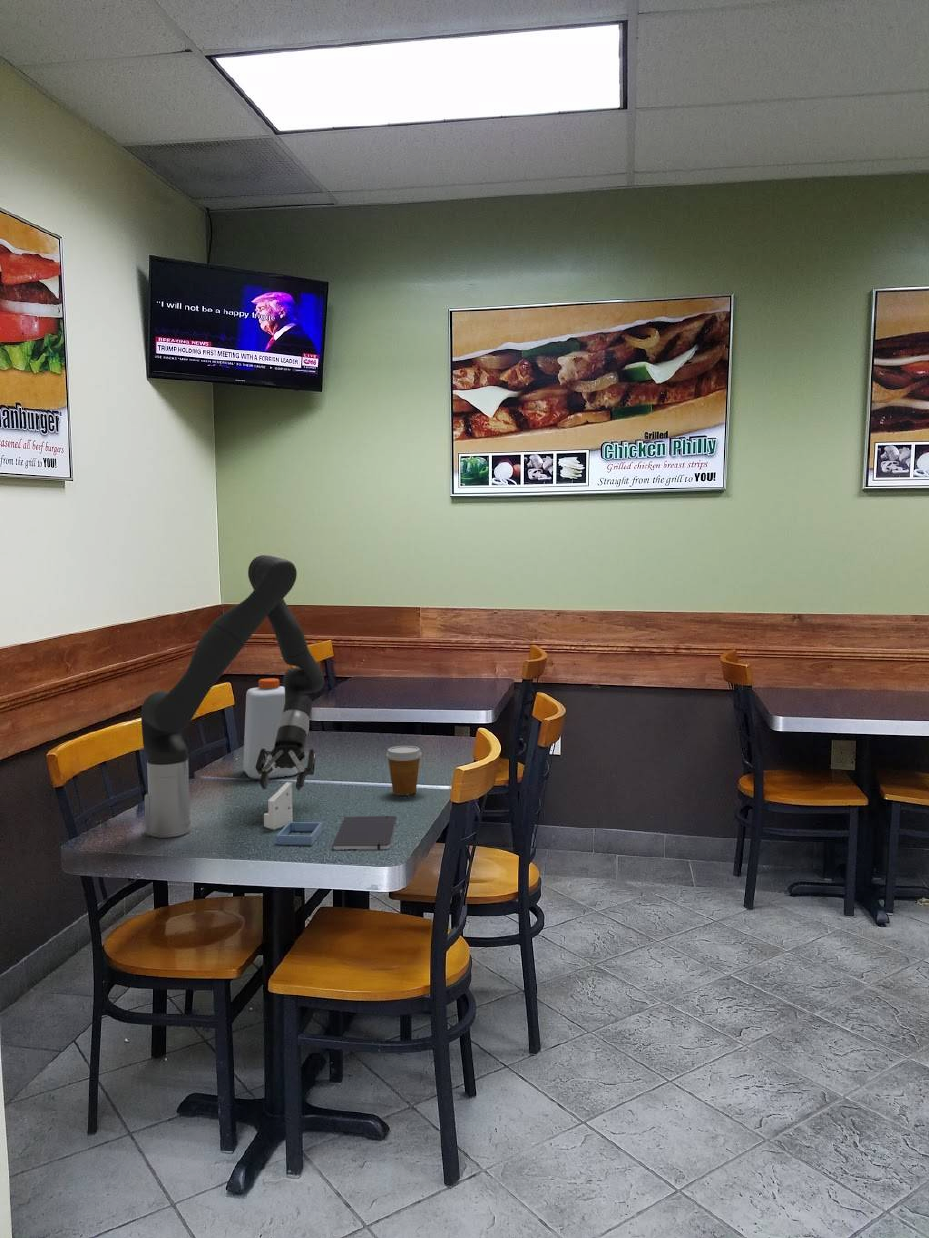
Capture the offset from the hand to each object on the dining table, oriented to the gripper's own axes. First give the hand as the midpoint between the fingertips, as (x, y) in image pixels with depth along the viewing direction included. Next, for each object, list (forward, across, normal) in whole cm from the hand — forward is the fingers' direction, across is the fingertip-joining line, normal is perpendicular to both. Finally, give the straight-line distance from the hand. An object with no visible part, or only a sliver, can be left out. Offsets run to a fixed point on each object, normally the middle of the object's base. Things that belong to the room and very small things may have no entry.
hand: (280, 788), depth 218 cm
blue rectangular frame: (+14, +8, -2) cm, 16 cm away
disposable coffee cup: (-13, +26, +25) cm, 39 cm away
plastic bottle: (-27, -17, +39) cm, 50 cm away
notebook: (+12, +22, +1) cm, 26 cm away
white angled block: (+8, 0, +4) cm, 9 cm away
